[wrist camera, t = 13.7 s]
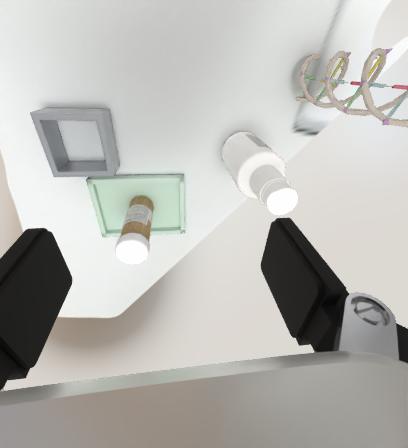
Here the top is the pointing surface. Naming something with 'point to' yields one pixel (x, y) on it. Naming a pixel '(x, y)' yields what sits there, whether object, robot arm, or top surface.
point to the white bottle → (259, 172)
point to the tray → (131, 187)
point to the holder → (55, 146)
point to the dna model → (363, 84)
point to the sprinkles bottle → (136, 231)
